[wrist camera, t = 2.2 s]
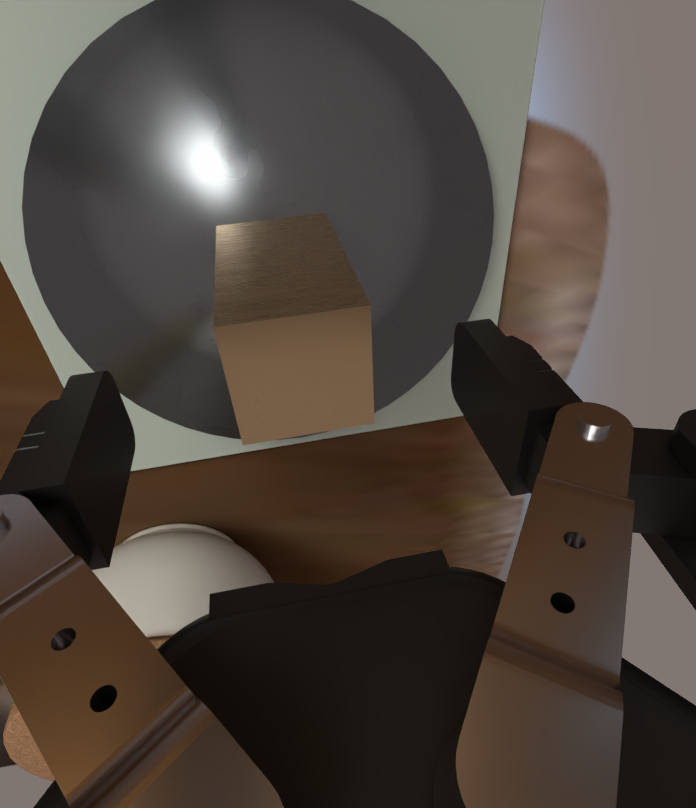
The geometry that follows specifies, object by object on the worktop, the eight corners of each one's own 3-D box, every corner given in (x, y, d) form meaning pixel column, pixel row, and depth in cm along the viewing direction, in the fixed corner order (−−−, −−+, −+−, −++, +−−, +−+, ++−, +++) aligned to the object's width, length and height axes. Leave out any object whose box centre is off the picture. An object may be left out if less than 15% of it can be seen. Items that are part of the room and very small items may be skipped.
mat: (-148, -55, 11) (-159, -57, 11) (549, -92, 13) (558, -95, 12) (109, 468, 21) (107, 475, 21) (481, 406, 23) (484, 412, 22)
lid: (-81, 2, 11) (-339, 1, 6) (512, -39, 13) (708, -68, 8) (125, 453, 20) (91, 612, 15) (465, 396, 22) (542, 522, 16)
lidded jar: (125, 641, 29) (91, 857, 22) (6, 528, 22) (-101, 787, 15) (309, 589, 29) (336, 785, 22) (248, 460, 22) (258, 683, 15)
